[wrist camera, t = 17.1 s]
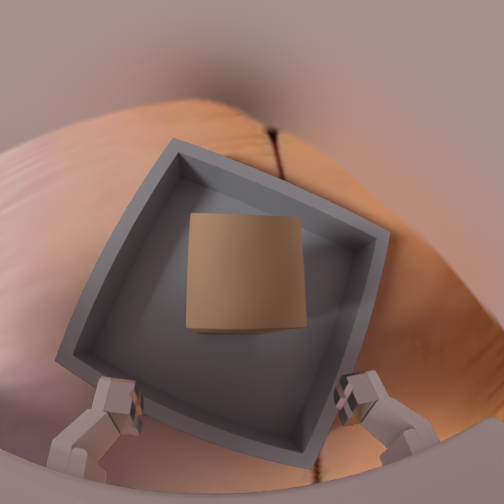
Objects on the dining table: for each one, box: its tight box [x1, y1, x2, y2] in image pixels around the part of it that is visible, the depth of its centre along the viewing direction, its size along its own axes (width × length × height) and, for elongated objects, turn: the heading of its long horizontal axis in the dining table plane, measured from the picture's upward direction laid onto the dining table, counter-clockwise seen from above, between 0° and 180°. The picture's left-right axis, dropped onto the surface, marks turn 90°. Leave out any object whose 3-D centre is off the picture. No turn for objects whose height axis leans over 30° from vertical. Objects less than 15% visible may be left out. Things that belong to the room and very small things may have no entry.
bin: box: [55, 138, 391, 470], centre depth 22 cm, size 20×20×5 cm
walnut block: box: [186, 213, 307, 335], centre depth 18 cm, size 5×5×12 cm
